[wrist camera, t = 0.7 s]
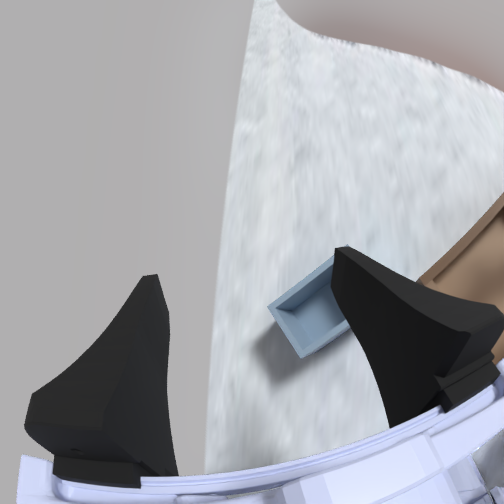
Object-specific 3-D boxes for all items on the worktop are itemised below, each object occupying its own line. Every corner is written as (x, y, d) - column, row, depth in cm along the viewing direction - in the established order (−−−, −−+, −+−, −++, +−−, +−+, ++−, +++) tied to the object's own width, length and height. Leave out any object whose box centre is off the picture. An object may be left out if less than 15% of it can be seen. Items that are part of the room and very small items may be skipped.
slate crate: (385, 300, 24) (386, 295, 20) (315, 352, 26) (300, 358, 21) (353, 257, 26) (347, 244, 22) (286, 309, 28) (267, 306, 24)
